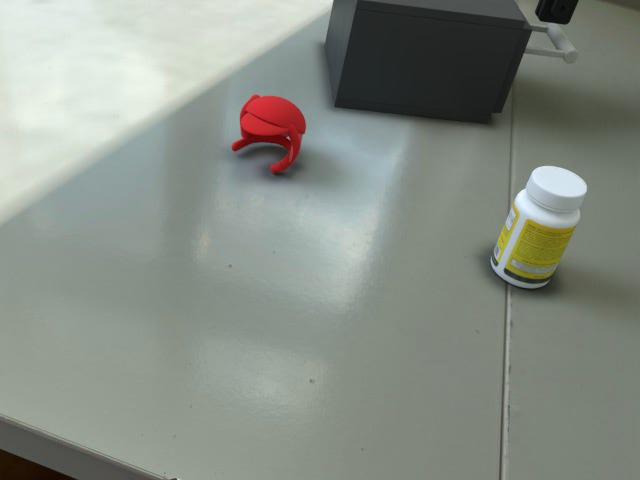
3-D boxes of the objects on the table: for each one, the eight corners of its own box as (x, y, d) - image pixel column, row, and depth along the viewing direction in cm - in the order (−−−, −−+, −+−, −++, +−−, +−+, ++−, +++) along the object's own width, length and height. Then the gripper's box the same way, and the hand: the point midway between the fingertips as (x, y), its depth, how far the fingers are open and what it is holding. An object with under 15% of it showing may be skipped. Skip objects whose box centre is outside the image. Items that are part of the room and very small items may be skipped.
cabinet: (460, 62, 89) (491, -34, 82) (488, 124, 79) (526, 20, 72) (324, 45, 88) (343, -54, 81) (334, 106, 78) (357, -1, 70)
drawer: (531, 65, 89) (562, -13, 83) (565, 121, 79) (601, 38, 74) (347, 42, 87) (365, -39, 81) (359, 97, 78) (380, 10, 72)
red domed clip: (241, 130, 72) (249, 69, 68) (305, 144, 71) (317, 84, 67) (220, 176, 66) (228, 112, 62) (289, 192, 65) (301, 129, 61)
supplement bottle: (562, 283, 61) (607, 194, 55) (515, 295, 59) (558, 205, 53) (522, 246, 64) (562, 158, 58) (477, 256, 62) (513, 167, 56)
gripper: (714, -160, 62) (611, 58, 74) (643, -199, 73) (564, -4, 85) (623, -175, 61) (535, 47, 73) (566, -212, 72) (497, -14, 84)
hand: (551, 19), depth 79 cm, fingers closed
